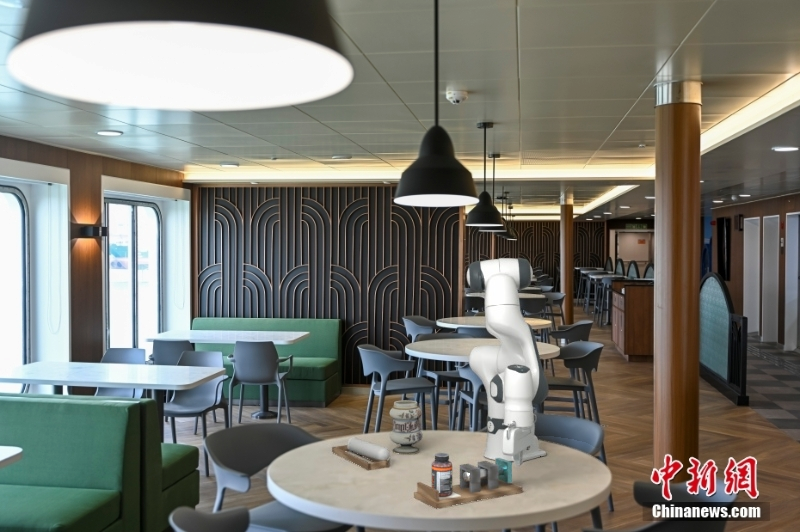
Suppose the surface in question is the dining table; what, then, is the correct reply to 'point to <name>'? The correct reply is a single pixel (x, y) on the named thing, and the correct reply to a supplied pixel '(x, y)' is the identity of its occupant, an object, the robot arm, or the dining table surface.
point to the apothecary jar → (406, 426)
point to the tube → (368, 449)
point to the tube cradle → (368, 466)
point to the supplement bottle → (442, 474)
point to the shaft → (503, 471)
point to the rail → (468, 487)
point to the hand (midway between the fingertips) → (518, 464)
